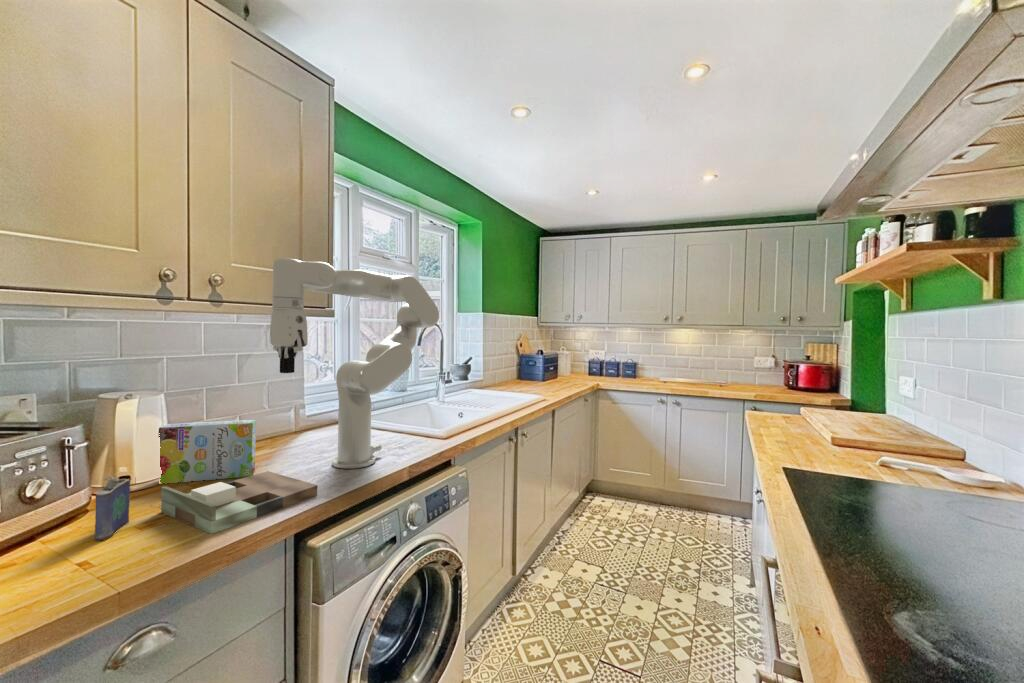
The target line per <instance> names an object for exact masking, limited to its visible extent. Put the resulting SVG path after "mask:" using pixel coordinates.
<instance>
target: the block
mask: <svg viewBox="0 0 1024 683" xmlns="http://www.w3.org/2000/svg"><path fill="white" fill-rule="evenodd" d="M226 483H227V482H223V481H219V482H215V483H212V484H208V485H205V486H204V485H203V486H201V487H197V488H194V489H191V490H190V493H191V496H193V497H195V498H198V499H201V500H203V501H206V502H209V503H211V504H214V505H216V506H219V505H222V504H225V503H228V502H232V501H235V500H236V487H235V486H232V485H229V484H226Z"/></svg>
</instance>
